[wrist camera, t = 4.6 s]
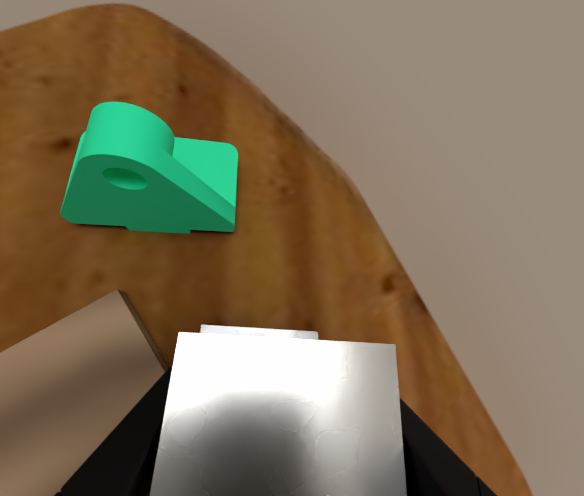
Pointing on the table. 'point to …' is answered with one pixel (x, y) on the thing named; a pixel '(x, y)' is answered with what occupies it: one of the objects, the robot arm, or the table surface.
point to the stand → (70, 392)
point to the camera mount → (149, 176)
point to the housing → (280, 417)
